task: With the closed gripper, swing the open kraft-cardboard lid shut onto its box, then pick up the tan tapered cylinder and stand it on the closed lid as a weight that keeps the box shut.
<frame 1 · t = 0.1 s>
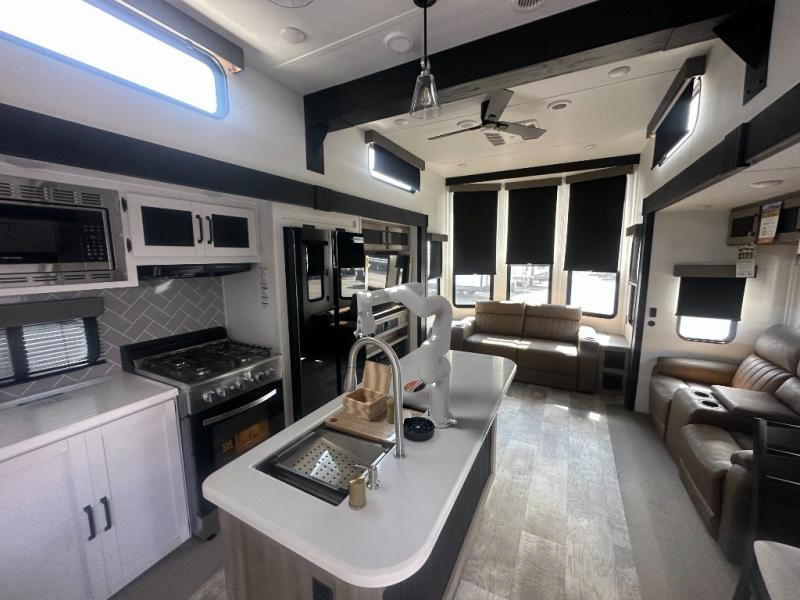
hand: (366, 343, 169), 31 cm above the countertop, tool pointing down, fingers open, 9 cm apart
box lid: (376, 377, 165), point 14 cm above the countertop, hinge at 110.0°
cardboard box: (365, 410, 160), on the countertop
tan tapered cylinder: (392, 421, 149), on the countertop
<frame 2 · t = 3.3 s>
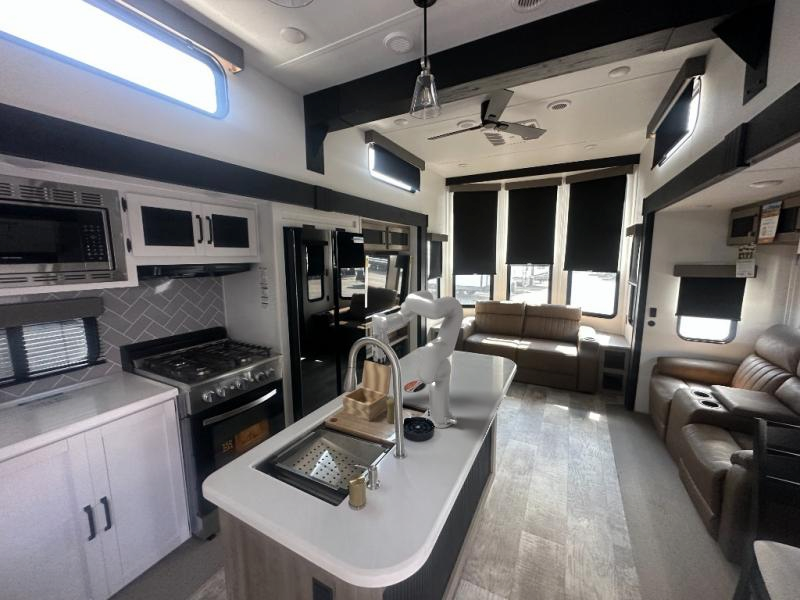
hand: (381, 368, 168), 18 cm above the countertop, tool pointing down, fingers closed
box lid: (376, 376, 165), point 15 cm above the countertop, hinge at 105.4°, touching gripper
everything else where it was.
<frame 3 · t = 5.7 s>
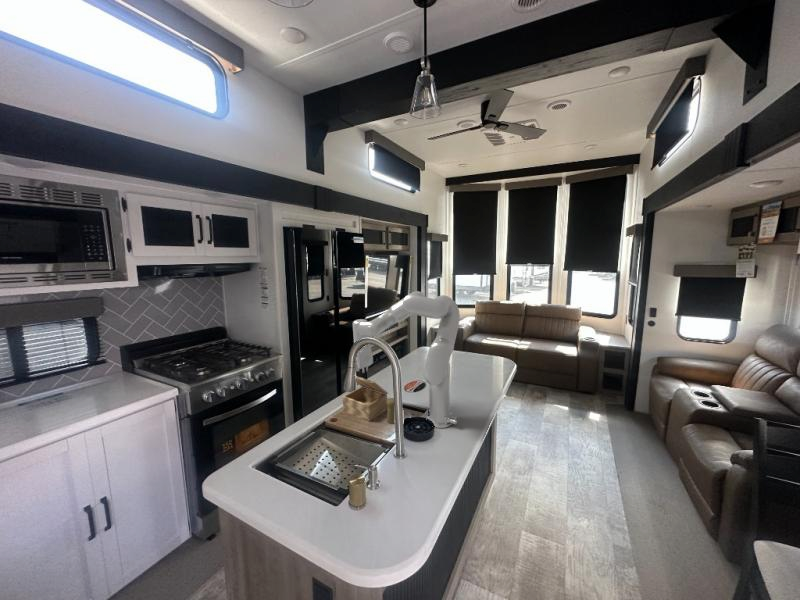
hand: (364, 378, 157), 17 cm above the countertop, tool pointing down, fingers closed
box lid: (367, 384, 159), point 13 cm above the countertop, hinge at 44.9°, touching gripper
everything else where it was.
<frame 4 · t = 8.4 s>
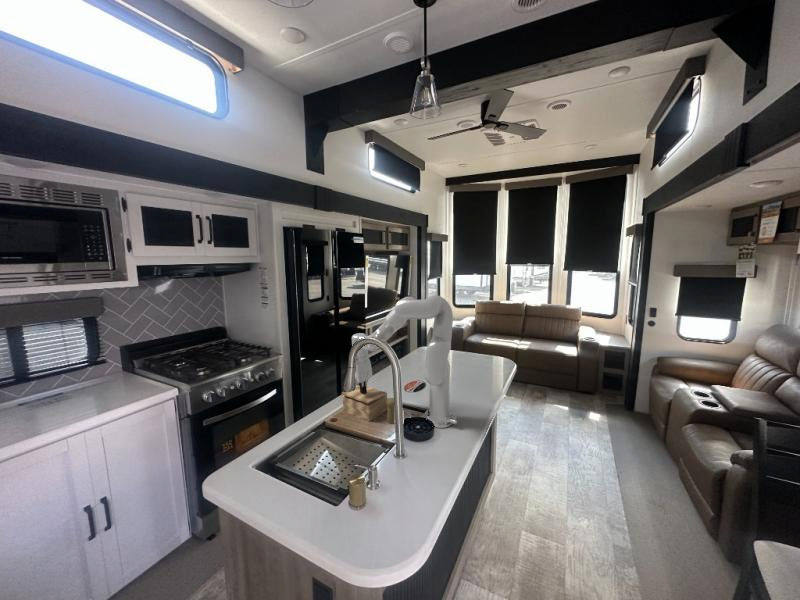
hand: (363, 392, 157), 10 cm above the countertop, tool pointing down, fingers closed
box lid: (364, 393, 158), point 9 cm above the countertop, hinge at 4.9°
everything else where it was.
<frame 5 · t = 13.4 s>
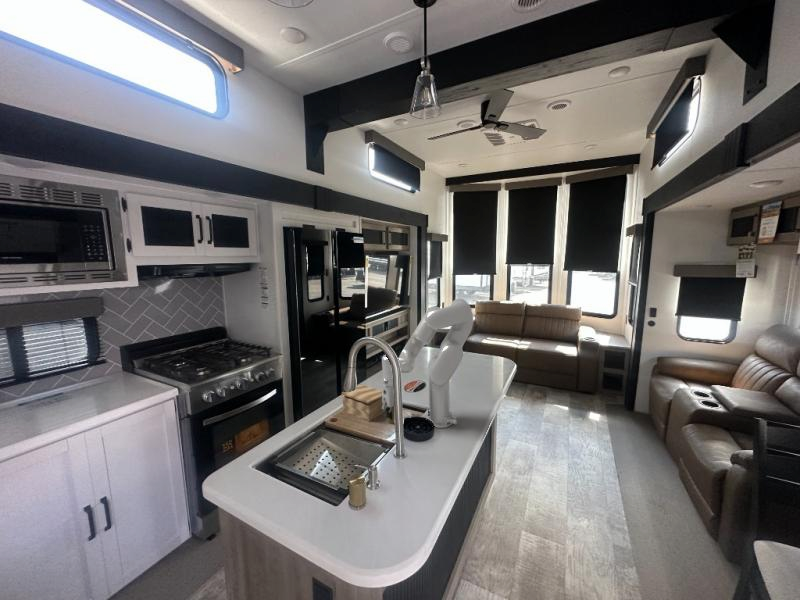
hand: (392, 416, 149), 2 cm above the countertop, tool pointing down, fingers closed on tan tapered cylinder, 4 cm apart
tan tapered cylinder: (392, 421, 149), on the countertop, touching gripper
everything else where it was.
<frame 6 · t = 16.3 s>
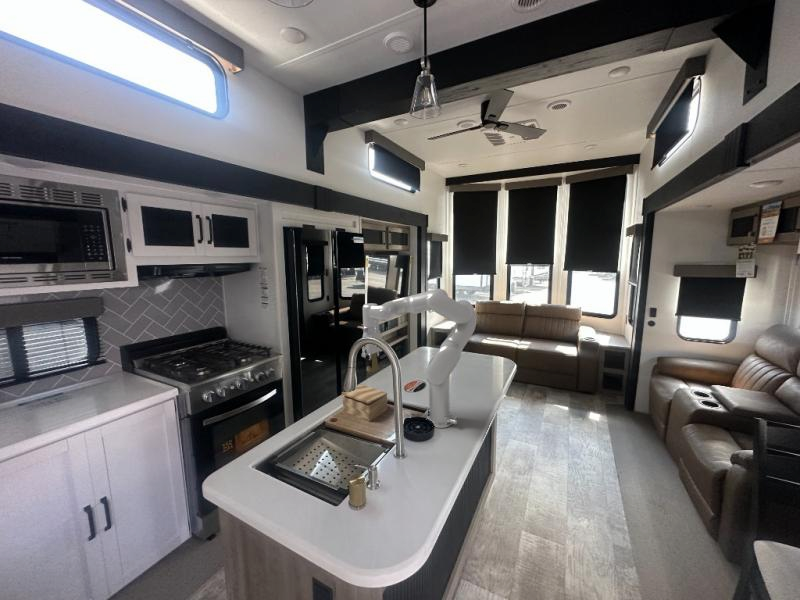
hand: (372, 365, 151), 26 cm above the countertop, tool pointing down, fingers closed on tan tapered cylinder, 4 cm apart
tan tapered cylinder: (372, 370, 152), point 23 cm above the countertop, touching gripper
everything else where it was.
when the fingers open (13 cm above the countertop, at t = 19.4 s): tan tapered cylinder drops 1 cm, resting on box lid.
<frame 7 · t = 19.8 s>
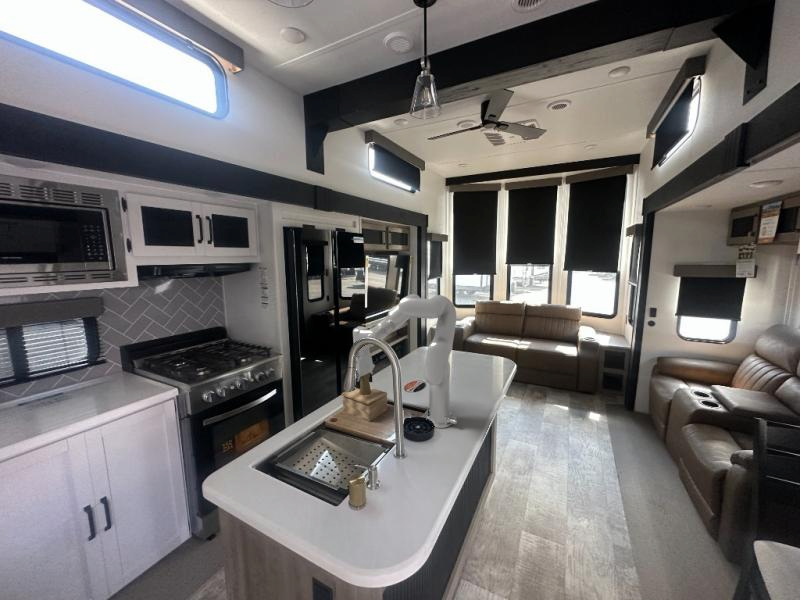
hand: (363, 384, 157), 14 cm above the countertop, tool pointing down, fingers open, 8 cm apart
box lid: (364, 393, 158), point 9 cm above the countertop, hinge at 3.3°, touching tan tapered cylinder
tan tapered cylinder: (365, 393, 158), point 9 cm above the countertop, touching box lid
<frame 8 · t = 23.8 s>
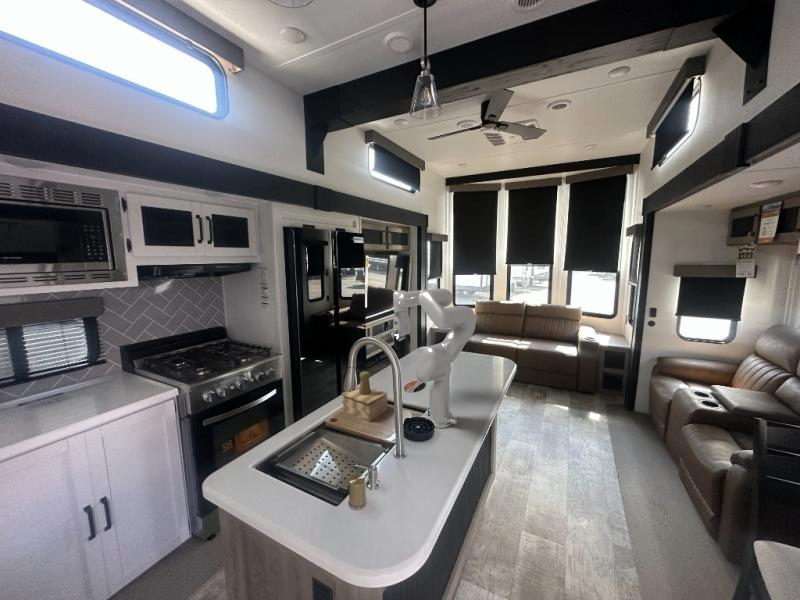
hand: (402, 345, 167), 30 cm above the countertop, tool pointing down, fingers open, 9 cm apart
nothing on the countertop moved.
at the end: box lid at +3° (first picture: +110°); tan tapered cylinder inside the target area on the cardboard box (0.4 cm from its centre), point 9.3 cm above the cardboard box's base; tan tapered cylinder tilted 3° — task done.
